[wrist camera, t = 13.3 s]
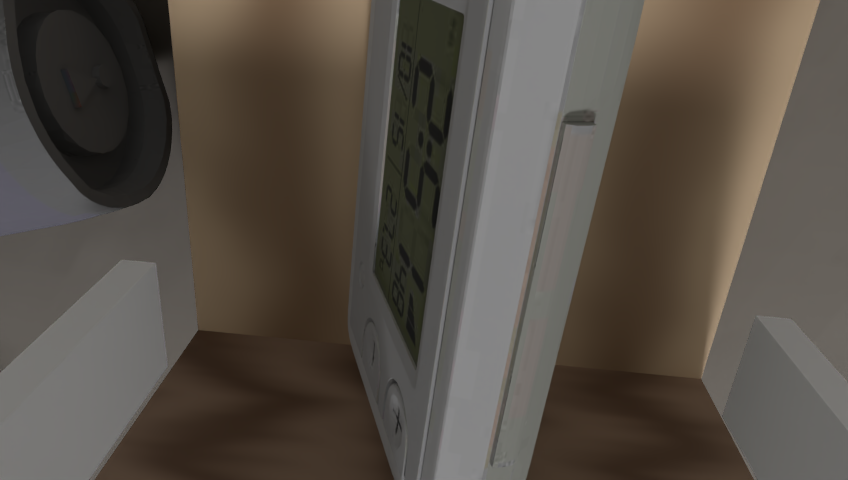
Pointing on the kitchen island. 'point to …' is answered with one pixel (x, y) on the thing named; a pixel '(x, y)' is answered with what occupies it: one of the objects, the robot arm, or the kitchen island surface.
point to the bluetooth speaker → (77, 112)
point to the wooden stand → (334, 228)
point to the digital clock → (476, 217)
